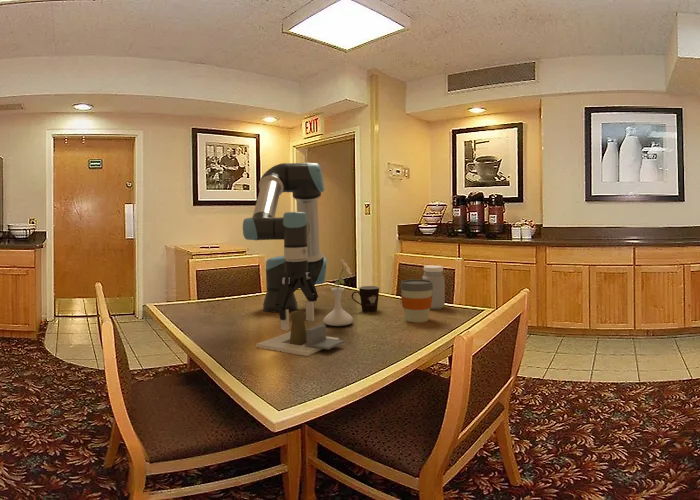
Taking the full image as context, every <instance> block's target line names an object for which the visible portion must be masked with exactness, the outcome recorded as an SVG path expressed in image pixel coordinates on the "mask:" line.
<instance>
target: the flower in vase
mask: <svg viewBox="0 0 700 500" xmlns="http://www.w3.org/2000/svg"><path fill="white" fill-rule="evenodd" d="M339 261H340V265H341V267H342V269H341V271H340V274H339V276H338V279H336V280H335V282H334V285H335V286H337V287H332V288H330V290H331V292H332V294H333V297H334V307H333V310H331V311H330V312H329V313H328V314H327V315H326V316H324V318H323V322H324V325H326V326H327V325H328V326H332V327H340V326H341V327H342V326H347V325H350V324H352V323H353V322H354V318H353V317H352V316H351V314H349V313H348V312H347V311H345V310H344V309H343V307H342V295H343V292H344V290H345V288H344V287H340V284H341V285H344V284H345V281H344V279H343V278H342V277H341V276H342V274H343V271H344V273H345V274H346V275H347V276H348V277H349V278H351V277H352V276H353V273H352V272H351V268H350V267H349V266H348V263H347V262H345V259H344V258H340V260H339Z"/></svg>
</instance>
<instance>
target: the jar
mask: <svg viewBox="0 0 700 500" xmlns="http://www.w3.org/2000/svg"><path fill="white" fill-rule="evenodd" d="M423 271H424V272H423V275H422V278H421V280H430V281H432V285H433V289H432V294H431V295H432V303H431V308H430V310H441V309H444V307H445V305H446V304H445V303H446V302H445V301H446V299H445V298H446V297H445V292H446V289H445V287H446V284H445V283H446V280H445V278H446V277H445V276H444V266H443V265H437V264H436V265H432V264H430V265H424V266H423Z"/></svg>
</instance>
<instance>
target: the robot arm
mask: <svg viewBox="0 0 700 500" xmlns="http://www.w3.org/2000/svg"><path fill="white" fill-rule="evenodd" d="M258 189H259V192H258V197H257V200H256V202H255V206H254V211H253V214H252V217H246V218H244V219H243V222H242V235H243V237H244V239H245V240H247V241H271V240H272V241H273V240H277V241H280V240H281V241H282V240H283V255H279V256H273V257H269V258H267V260H266V261H265V278H266V279H265V283H266V285H265V287H266V293H265V297H264V300H263V304H262V309H263V311H265V312H271V313H279V320H280V330H283V331H290V313H289V312H293V311H296V310H297V309H299V308H298V301H297V297H296V295H295V293H296V291H297V290H299V289H300V290H301V292H302V294H303V296H305V298H306V301H305V314H306V319H305V321H309V322H310V321H311V322H315V302H317V300H318V298H319V295H318V291H317V288H316V285H321V284H324V283H325V281H326V272H327V263H328V262H327V261H328V259H327V257H325V256H324V253H323V252H322V251H321V249H320V247H321V246H320V228H319V227H320V226H319V207H318V205H319V204H318V203H319V202H318V200H319V198H320V197H321V196H322V193H323V192H324V191H325V183H324V175H323V171H322V167H321V165H320V164H319V163H317V162H290V163H289V162H287V163H286V162H283V163H282V162H281V163H279V164H275V165H273V166H272V167H270V168H269V169H268V170H267V171H265V172H264V173H263V174H262V176H261V177H260V180H259V183H258ZM282 193H292V198H293V199H294V200H296V211H286V212H284V213H283V216H282V217H281V216H280V217H276V213H277V209H278V203H279V199H280V196H281V195H282Z"/></svg>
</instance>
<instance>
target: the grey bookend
mask: <svg viewBox="0 0 700 500" xmlns="http://www.w3.org/2000/svg"><path fill="white" fill-rule="evenodd" d="M326 336H327V324H318V325H316V326H312V327H310V328H308V329H306V340H307V343H305V344H304V346H309V347H316V348H322V350H331V349H333V348H335V347H337V346H340V345H342V344H343V343H345V340H343V339H339V340H337V339H330V338H326Z"/></svg>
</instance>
